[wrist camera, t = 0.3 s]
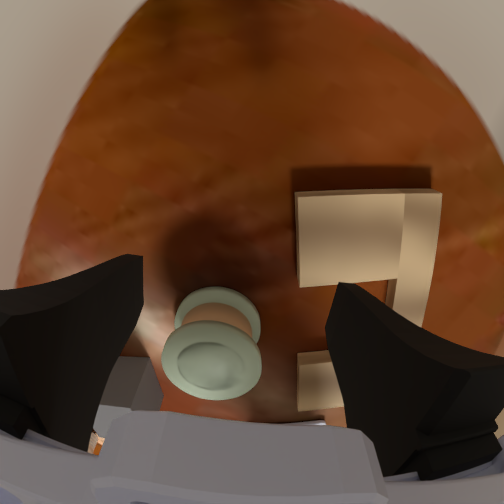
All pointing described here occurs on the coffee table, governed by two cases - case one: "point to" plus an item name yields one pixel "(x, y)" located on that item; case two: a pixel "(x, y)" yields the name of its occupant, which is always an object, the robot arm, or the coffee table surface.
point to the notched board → (363, 261)
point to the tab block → (128, 391)
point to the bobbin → (214, 345)
